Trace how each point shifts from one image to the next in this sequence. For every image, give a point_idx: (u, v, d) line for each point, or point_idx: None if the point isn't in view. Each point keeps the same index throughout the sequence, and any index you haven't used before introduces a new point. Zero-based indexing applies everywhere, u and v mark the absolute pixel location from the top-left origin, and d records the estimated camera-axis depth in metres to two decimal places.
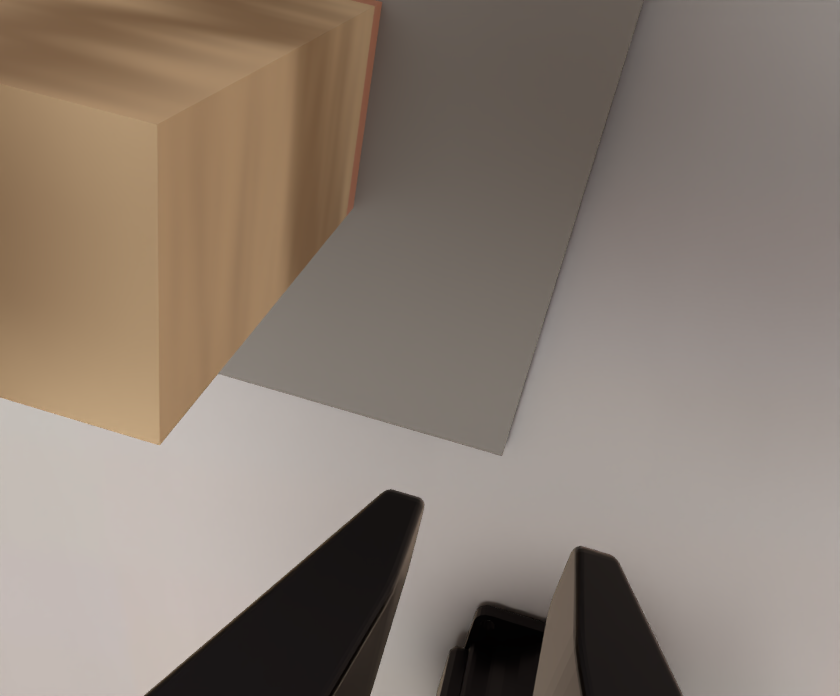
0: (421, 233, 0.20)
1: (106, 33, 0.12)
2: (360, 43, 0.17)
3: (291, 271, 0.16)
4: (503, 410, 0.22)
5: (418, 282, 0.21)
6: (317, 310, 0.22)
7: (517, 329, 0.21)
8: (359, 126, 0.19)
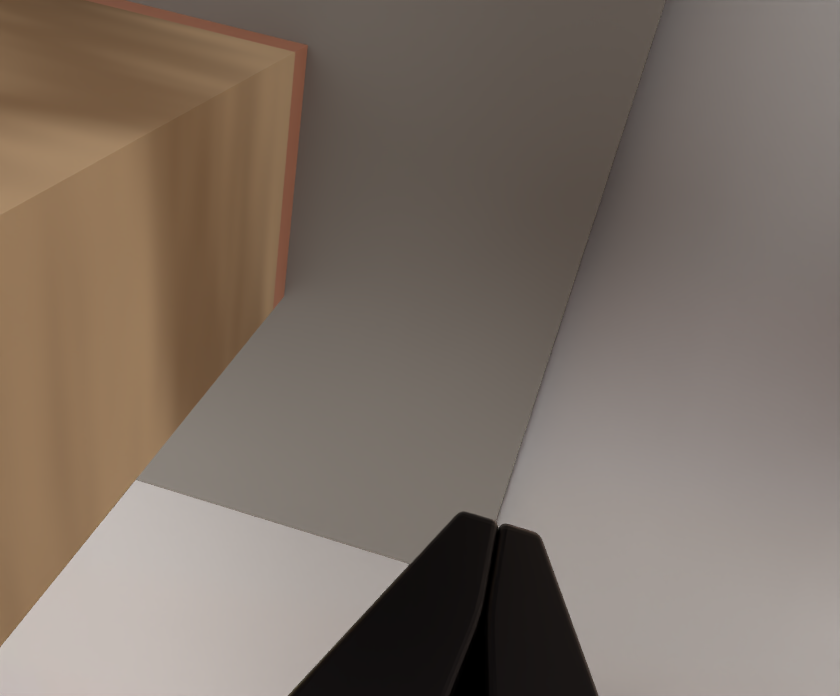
0: (369, 329, 0.16)
1: None
2: (274, 102, 0.13)
3: (179, 409, 0.12)
4: None
5: (367, 385, 0.17)
6: (247, 414, 0.18)
7: (491, 444, 0.17)
8: (283, 202, 0.14)
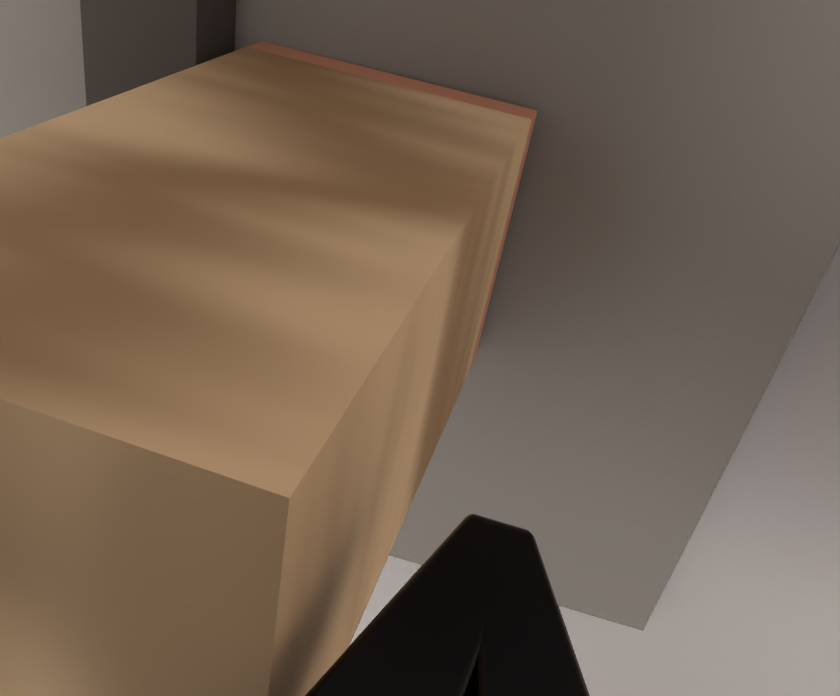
0: (565, 381, 0.16)
1: (184, 224, 0.08)
2: (513, 172, 0.12)
3: (416, 486, 0.12)
4: (651, 582, 0.18)
5: (555, 437, 0.17)
6: None
7: (679, 494, 0.17)
8: (495, 266, 0.14)
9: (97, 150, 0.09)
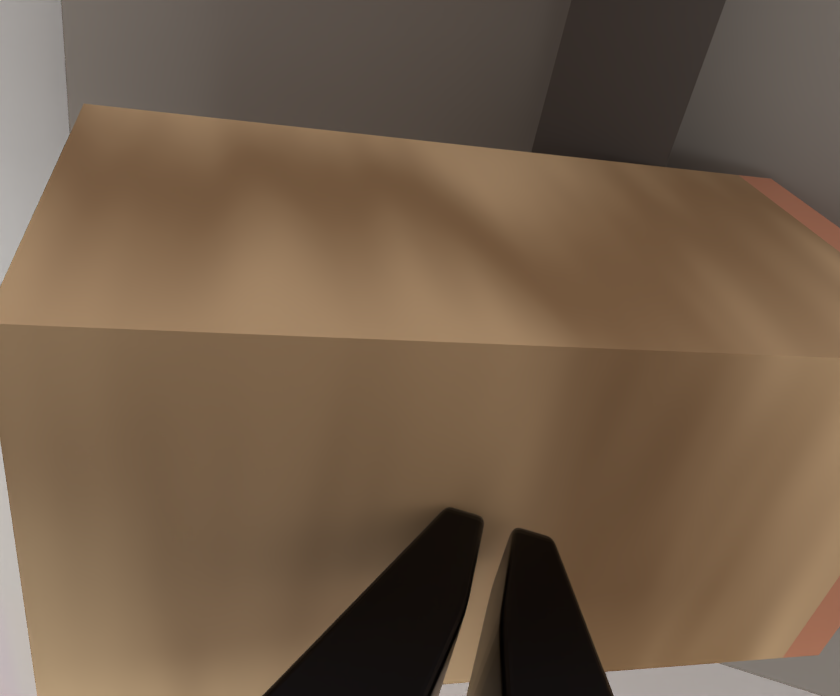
0: None
1: (341, 213, 0.08)
2: None
3: None
4: None
5: None
6: None
7: None
8: None
9: (408, 163, 0.10)
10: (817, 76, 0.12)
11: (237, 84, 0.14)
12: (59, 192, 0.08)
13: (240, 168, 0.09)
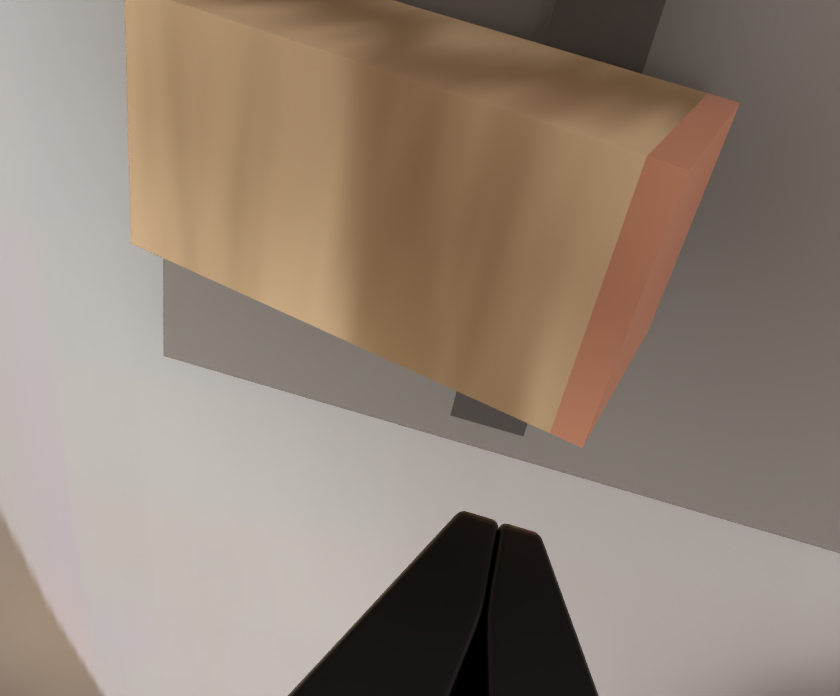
0: None
1: (340, 15, 0.15)
2: (579, 181, 0.11)
3: (359, 330, 0.15)
4: None
5: None
6: (720, 420, 0.21)
7: None
8: (593, 323, 0.12)
9: (430, 21, 0.16)
10: (760, 0, 0.16)
11: None
12: None
13: None
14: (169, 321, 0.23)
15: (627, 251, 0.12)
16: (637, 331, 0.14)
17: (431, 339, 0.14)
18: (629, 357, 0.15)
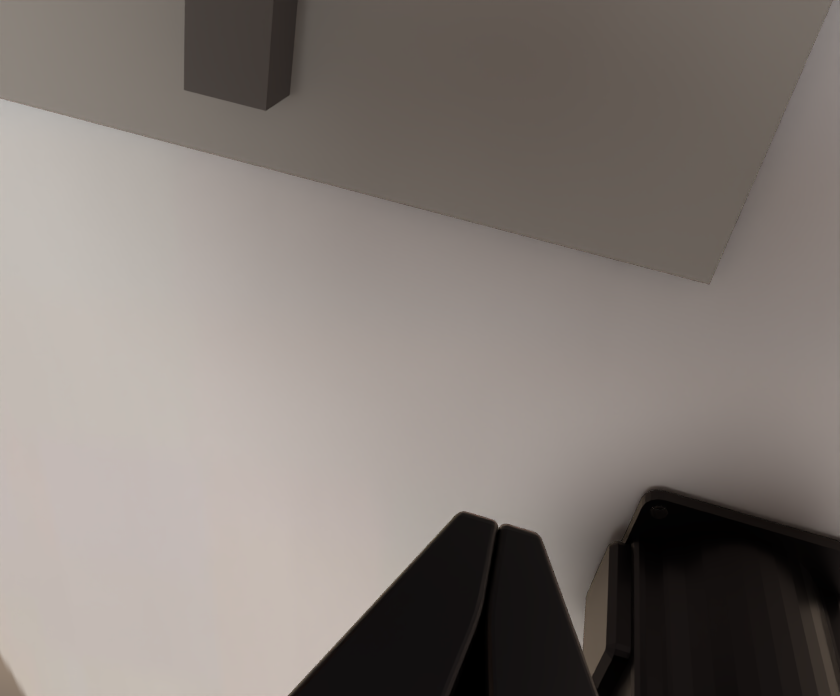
0: None
1: None
2: None
3: None
4: (721, 221, 0.18)
5: (634, 44, 0.17)
6: (496, 95, 0.18)
7: (756, 103, 0.17)
8: None
9: None
10: None
11: None
12: None
13: None
14: None
15: None
16: None
17: None
18: None
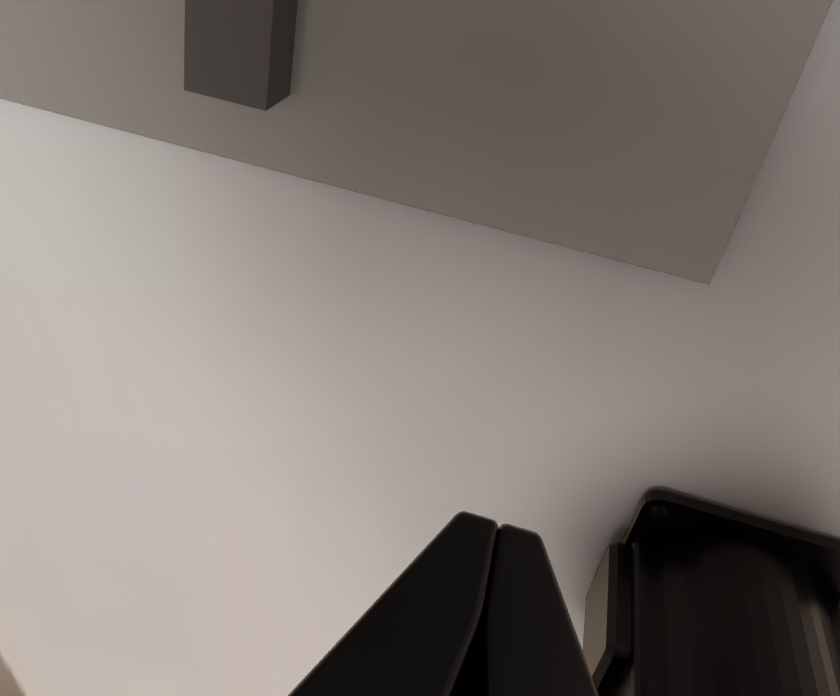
0: None
1: None
2: None
3: None
4: (721, 221, 0.18)
5: (634, 44, 0.17)
6: (496, 95, 0.18)
7: (756, 103, 0.17)
8: None
9: None
10: None
11: None
12: None
13: None
14: None
15: None
16: None
17: None
18: None
